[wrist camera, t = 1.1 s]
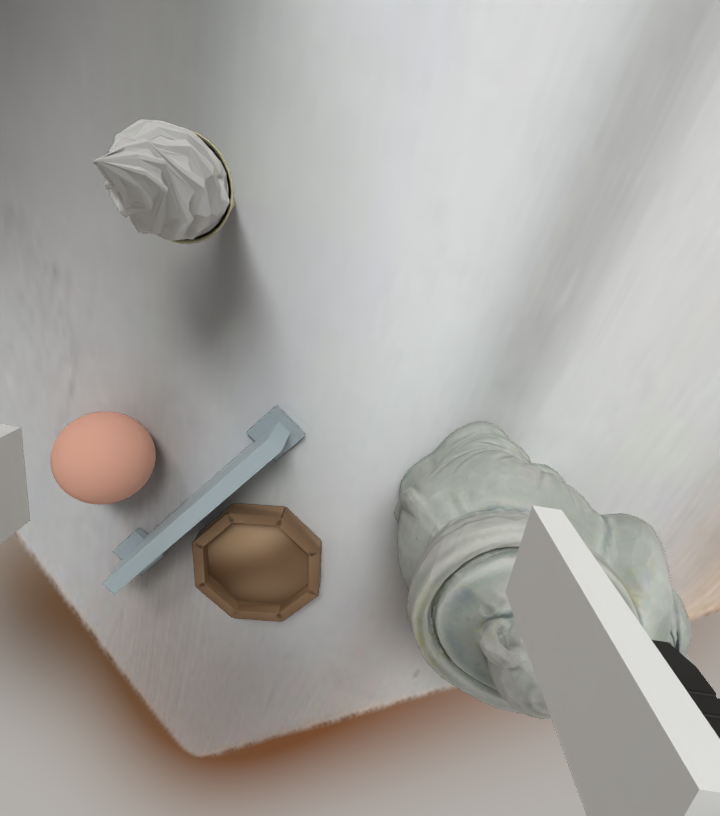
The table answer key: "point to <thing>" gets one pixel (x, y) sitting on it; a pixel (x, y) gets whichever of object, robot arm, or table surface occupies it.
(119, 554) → the low wall
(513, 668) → the teapot
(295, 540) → the cork ring
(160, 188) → the ice cream cone
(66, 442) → the ball
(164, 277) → the table surface
